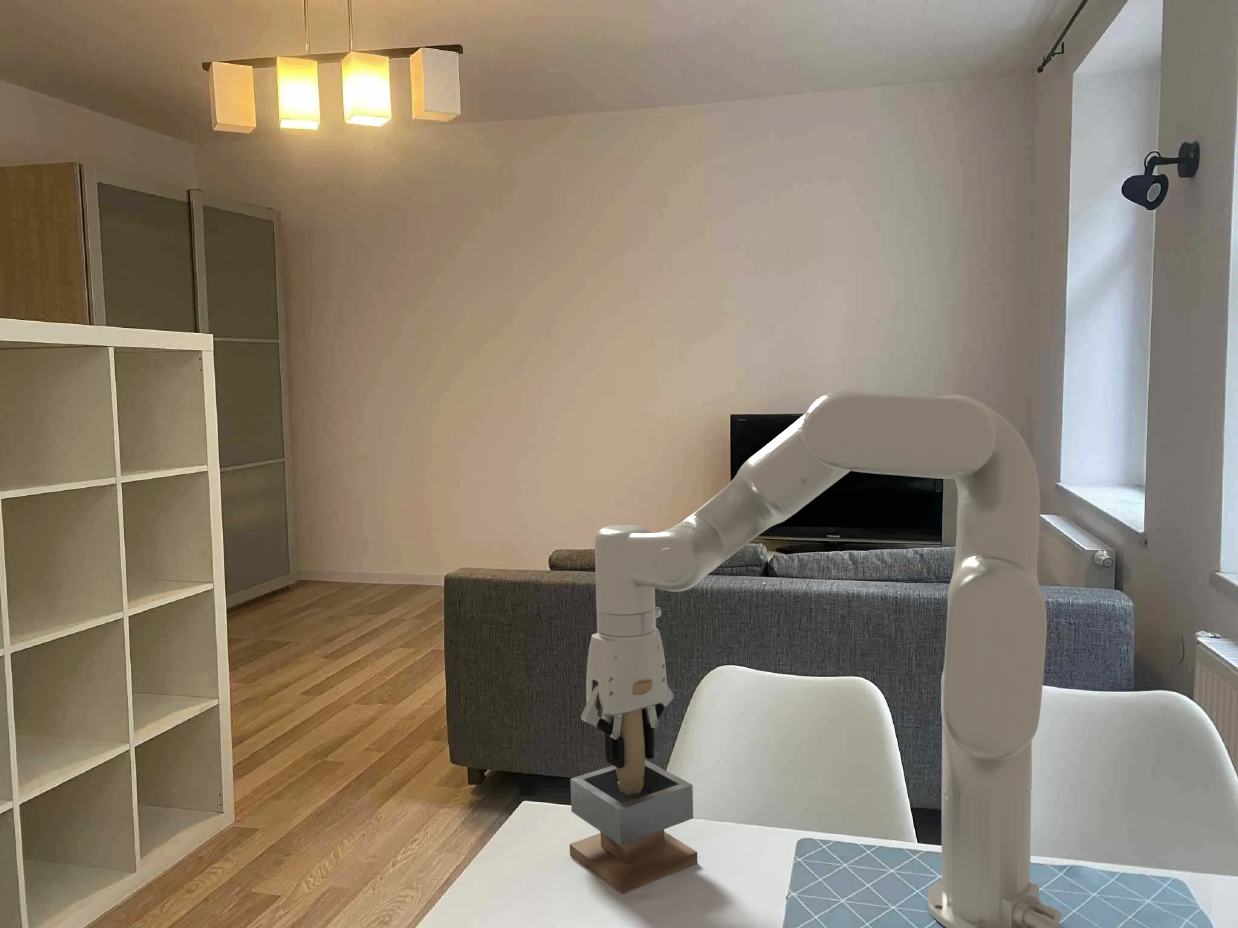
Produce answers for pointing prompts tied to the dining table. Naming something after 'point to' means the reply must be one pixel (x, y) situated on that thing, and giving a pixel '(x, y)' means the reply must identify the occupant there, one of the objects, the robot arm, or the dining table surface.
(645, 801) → the grey open box
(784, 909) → the dining table surface
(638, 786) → the handle
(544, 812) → the dining table surface
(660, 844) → the stand
